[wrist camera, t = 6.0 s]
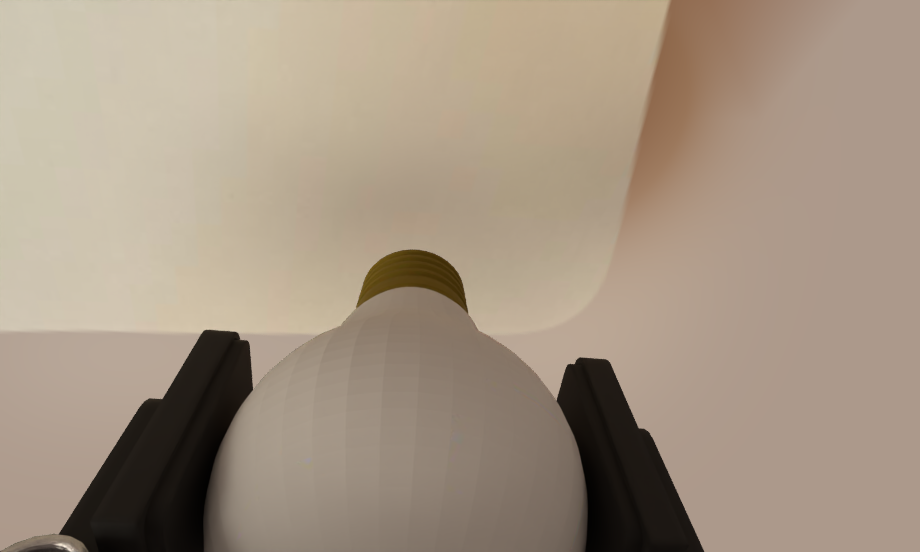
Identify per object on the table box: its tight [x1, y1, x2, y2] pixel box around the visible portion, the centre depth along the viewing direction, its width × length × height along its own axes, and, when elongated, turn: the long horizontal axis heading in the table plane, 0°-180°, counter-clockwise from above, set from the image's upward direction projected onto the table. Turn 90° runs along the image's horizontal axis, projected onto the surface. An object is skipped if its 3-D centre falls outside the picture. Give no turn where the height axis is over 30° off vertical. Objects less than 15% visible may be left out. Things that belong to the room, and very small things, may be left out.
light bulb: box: [203, 250, 588, 552], centre depth 11 cm, size 6×6×10 cm
